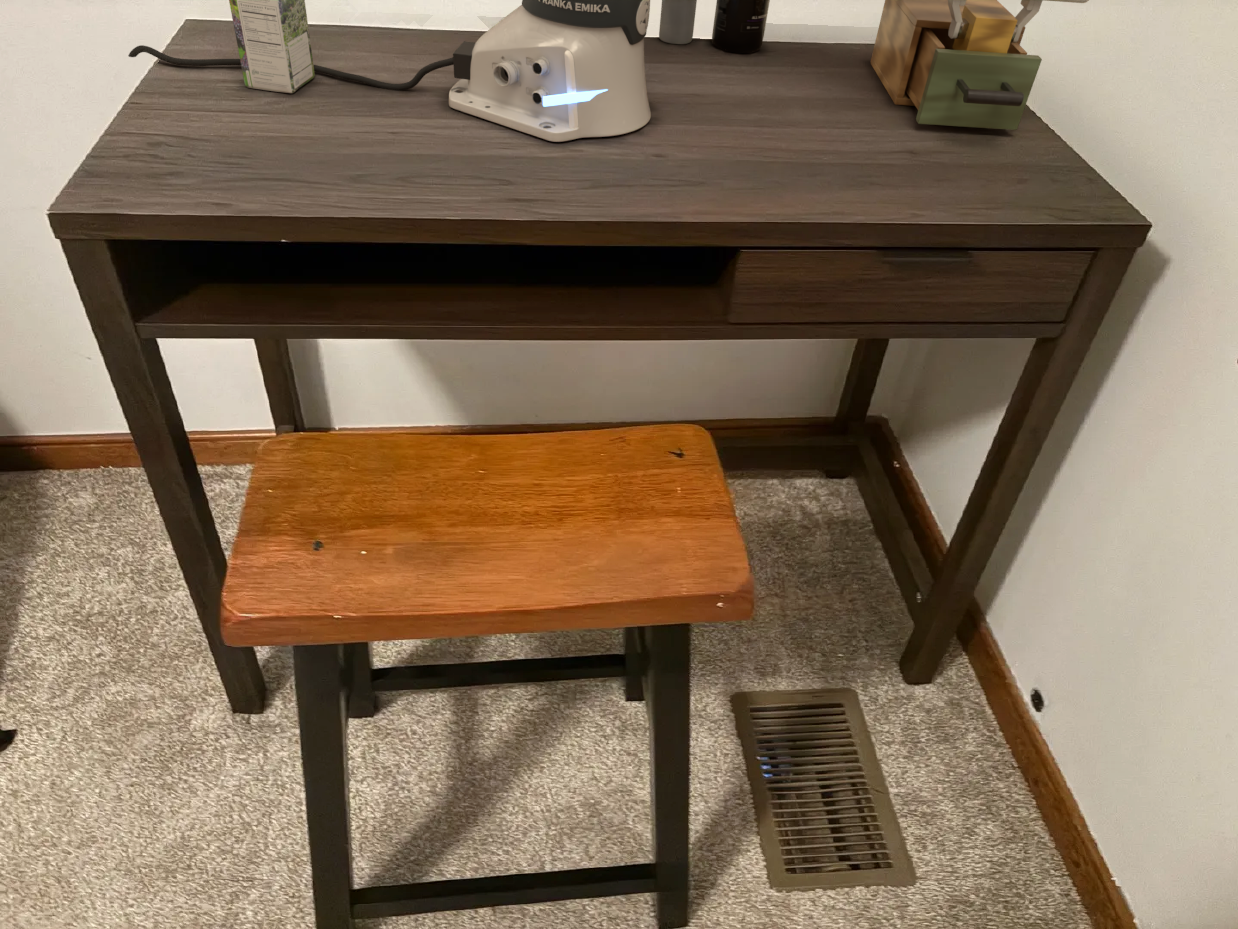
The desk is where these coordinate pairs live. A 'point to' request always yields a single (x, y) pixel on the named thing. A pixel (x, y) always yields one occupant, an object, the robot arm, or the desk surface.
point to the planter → (677, 21)
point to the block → (986, 29)
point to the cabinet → (909, 38)
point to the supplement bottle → (740, 25)
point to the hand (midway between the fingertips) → (981, 39)
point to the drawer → (969, 83)
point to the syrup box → (273, 43)
